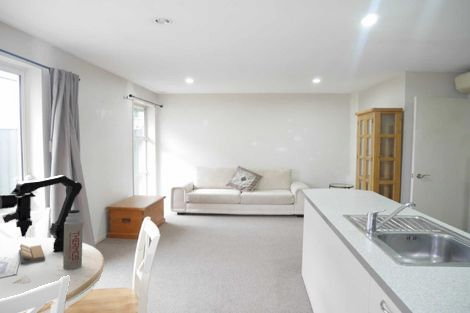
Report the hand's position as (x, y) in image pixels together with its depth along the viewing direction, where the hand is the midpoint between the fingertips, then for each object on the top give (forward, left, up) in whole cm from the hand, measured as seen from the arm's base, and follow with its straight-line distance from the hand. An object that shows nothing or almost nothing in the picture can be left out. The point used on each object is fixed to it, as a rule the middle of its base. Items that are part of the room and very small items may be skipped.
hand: (23, 236), depth 149 cm
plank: (0, -3, -9) cm, 10 cm away
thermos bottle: (-26, +14, -12) cm, 32 cm away
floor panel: (-2, -4, -12) cm, 13 cm away
